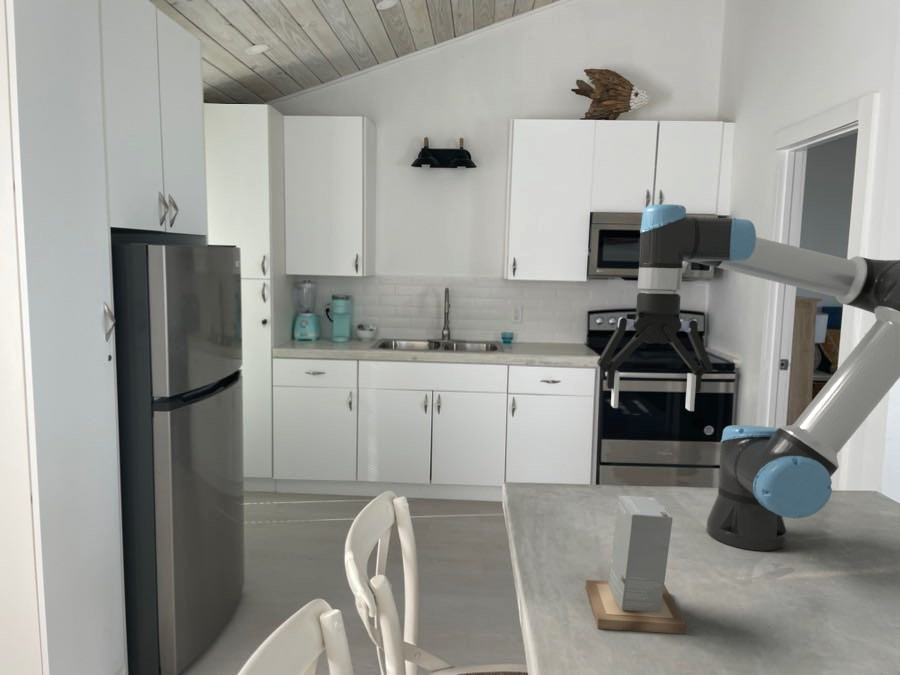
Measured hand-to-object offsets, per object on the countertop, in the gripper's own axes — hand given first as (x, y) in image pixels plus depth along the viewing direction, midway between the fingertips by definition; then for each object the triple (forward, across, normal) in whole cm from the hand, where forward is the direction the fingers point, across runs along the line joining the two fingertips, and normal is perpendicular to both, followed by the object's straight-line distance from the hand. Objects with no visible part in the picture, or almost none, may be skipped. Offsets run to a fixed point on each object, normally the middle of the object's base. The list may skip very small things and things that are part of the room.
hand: (651, 408), depth 125 cm
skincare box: (+27, +6, +20) cm, 34 cm away
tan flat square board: (+29, +6, +20) cm, 35 cm away
